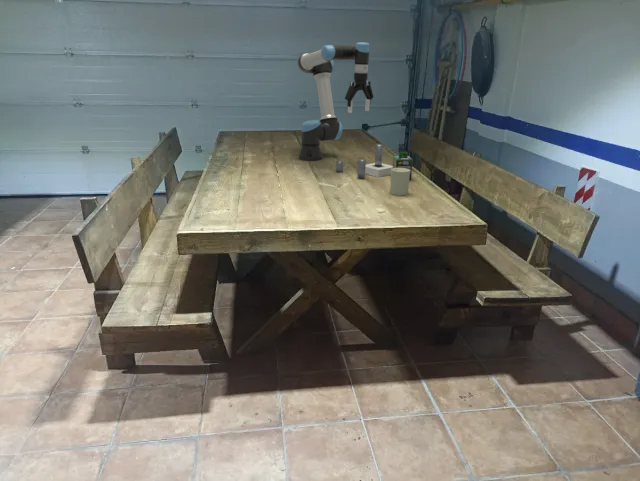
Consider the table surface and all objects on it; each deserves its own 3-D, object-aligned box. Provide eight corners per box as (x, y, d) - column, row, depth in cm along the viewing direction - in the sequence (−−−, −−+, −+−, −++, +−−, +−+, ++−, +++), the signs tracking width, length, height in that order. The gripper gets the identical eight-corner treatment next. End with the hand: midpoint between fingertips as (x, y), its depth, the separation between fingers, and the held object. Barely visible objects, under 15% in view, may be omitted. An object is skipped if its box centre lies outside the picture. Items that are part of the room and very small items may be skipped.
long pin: (372, 172, 277) (374, 144, 271) (377, 171, 279) (379, 143, 273) (377, 174, 274) (379, 145, 268) (382, 173, 276) (384, 145, 270)
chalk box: (407, 176, 271) (409, 149, 265) (411, 180, 262) (414, 153, 257) (391, 176, 270) (393, 149, 265) (394, 180, 262) (396, 153, 256)
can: (388, 190, 243) (390, 166, 239) (407, 190, 243) (409, 166, 239) (390, 195, 235) (392, 170, 230) (409, 195, 235) (411, 171, 230)
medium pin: (356, 177, 265) (356, 159, 261) (361, 176, 267) (362, 158, 264) (361, 179, 262) (362, 161, 258) (366, 178, 264) (367, 160, 261)
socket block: (360, 172, 277) (360, 165, 276) (377, 168, 286) (378, 162, 284) (378, 177, 267) (378, 170, 266) (395, 173, 276) (395, 166, 274)
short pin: (334, 171, 278) (334, 161, 276) (339, 170, 280) (339, 160, 278) (339, 172, 275) (339, 162, 273) (344, 172, 277) (344, 161, 275)
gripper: (349, 73, 258) (347, 114, 266) (381, 72, 273) (378, 111, 281) (339, 72, 263) (337, 112, 272) (371, 71, 278) (369, 109, 287)
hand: (358, 111), depth 277 cm, fingers open, 13 cm apart
